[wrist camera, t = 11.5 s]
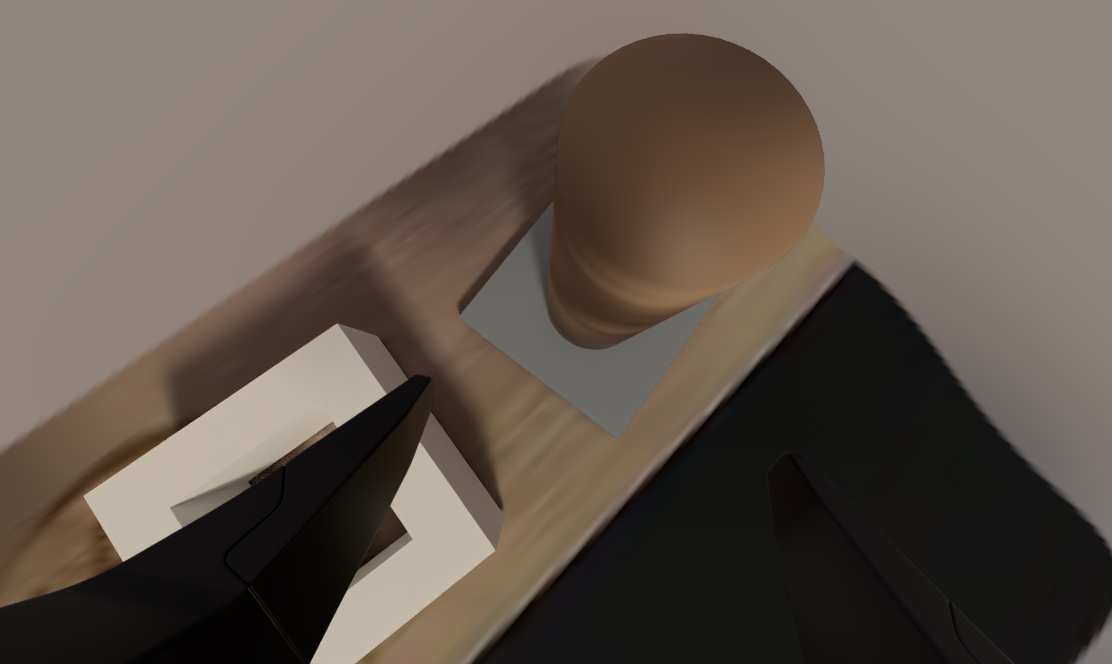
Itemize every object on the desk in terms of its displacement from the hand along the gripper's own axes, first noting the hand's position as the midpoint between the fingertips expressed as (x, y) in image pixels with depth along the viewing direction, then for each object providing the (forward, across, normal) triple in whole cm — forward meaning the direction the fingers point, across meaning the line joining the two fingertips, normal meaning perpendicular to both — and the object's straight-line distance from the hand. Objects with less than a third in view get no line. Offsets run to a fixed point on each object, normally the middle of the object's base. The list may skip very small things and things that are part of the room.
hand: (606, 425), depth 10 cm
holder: (+3, +10, +12) cm, 15 cm away
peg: (+11, 0, +3) cm, 11 cm away
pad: (+11, 0, +3) cm, 12 cm away
